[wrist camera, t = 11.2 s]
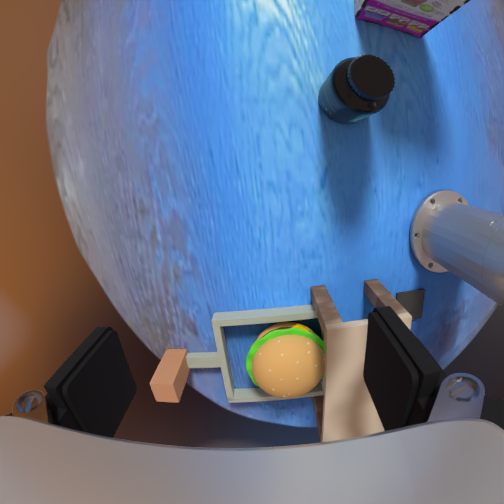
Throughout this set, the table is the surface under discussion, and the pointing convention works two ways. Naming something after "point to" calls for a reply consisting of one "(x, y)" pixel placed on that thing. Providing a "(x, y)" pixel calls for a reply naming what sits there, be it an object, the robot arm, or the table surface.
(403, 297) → the pit square
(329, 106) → the supplement bottle
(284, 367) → the hamburger
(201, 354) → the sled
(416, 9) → the candy bar box
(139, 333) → the table surface
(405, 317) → the tunnel
